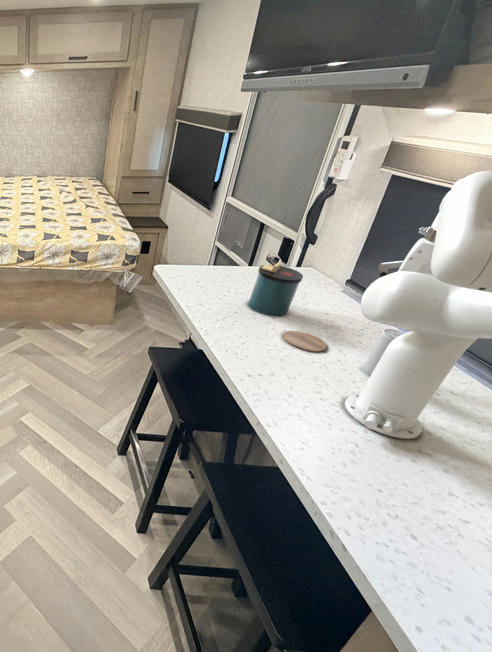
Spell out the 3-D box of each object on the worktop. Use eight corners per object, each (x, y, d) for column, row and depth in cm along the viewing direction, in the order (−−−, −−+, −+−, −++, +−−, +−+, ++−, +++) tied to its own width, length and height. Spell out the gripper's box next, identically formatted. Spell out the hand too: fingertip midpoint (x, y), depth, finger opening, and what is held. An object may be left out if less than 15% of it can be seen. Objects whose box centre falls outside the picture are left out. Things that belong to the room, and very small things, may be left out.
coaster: (320, 356, 108) (321, 355, 108) (278, 340, 114) (279, 339, 114) (330, 343, 113) (330, 341, 113) (289, 328, 120) (290, 327, 120)
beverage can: (363, 364, 105) (384, 326, 99) (387, 373, 101) (410, 334, 96) (361, 373, 102) (382, 334, 96) (386, 381, 98) (409, 342, 93)
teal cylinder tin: (281, 321, 124) (296, 283, 118) (241, 307, 132) (253, 271, 126) (293, 309, 131) (308, 272, 125) (254, 296, 139) (266, 261, 132)
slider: (274, 272, 125) (277, 266, 124) (260, 268, 127) (262, 262, 126) (279, 269, 127) (281, 263, 126) (265, 265, 130) (267, 259, 129)
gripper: (394, 232, 88) (360, 299, 96) (513, 254, 77) (463, 328, 85) (399, 225, 92) (367, 289, 101) (513, 244, 81) (466, 316, 89)
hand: (411, 307), depth 93 cm, fingers open, 9 cm apart
